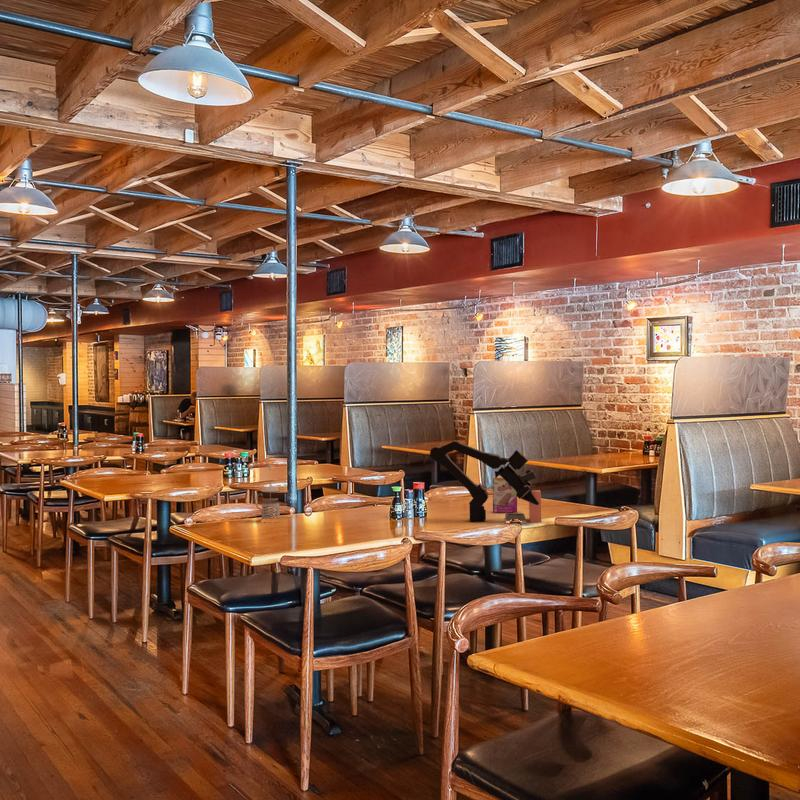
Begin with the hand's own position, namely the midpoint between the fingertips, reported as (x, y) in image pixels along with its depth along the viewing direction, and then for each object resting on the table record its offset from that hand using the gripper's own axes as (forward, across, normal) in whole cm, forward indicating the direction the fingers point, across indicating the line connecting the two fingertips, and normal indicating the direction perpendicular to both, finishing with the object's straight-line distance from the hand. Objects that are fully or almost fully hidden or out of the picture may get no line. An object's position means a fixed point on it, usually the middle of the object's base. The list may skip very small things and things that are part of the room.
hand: (538, 503), depth 353 cm
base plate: (-2, -1, +12) cm, 12 cm away
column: (+4, 0, +6) cm, 8 cm away
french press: (-78, -6, +89) cm, 118 cm away
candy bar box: (-6, +26, +17) cm, 31 cm away
